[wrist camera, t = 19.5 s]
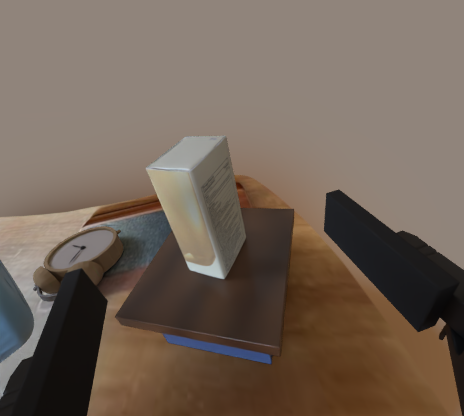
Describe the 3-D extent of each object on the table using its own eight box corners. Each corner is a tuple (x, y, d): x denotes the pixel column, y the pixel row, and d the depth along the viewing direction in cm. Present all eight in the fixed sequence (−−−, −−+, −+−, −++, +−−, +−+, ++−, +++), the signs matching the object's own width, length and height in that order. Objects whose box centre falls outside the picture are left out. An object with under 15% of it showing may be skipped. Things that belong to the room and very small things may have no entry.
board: (121, 325, 23) (114, 316, 23) (189, 215, 36) (187, 206, 35) (280, 357, 19) (279, 347, 18) (294, 217, 32) (293, 208, 31)
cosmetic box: (214, 232, 30) (187, 134, 23) (247, 237, 28) (228, 133, 21) (186, 273, 25) (141, 166, 18) (223, 283, 23) (189, 168, 16)
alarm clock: (127, 222, 45) (78, 278, 32) (136, 244, 47) (93, 305, 34) (71, 229, 46) (1, 286, 33) (82, 251, 48) (20, 313, 35)
